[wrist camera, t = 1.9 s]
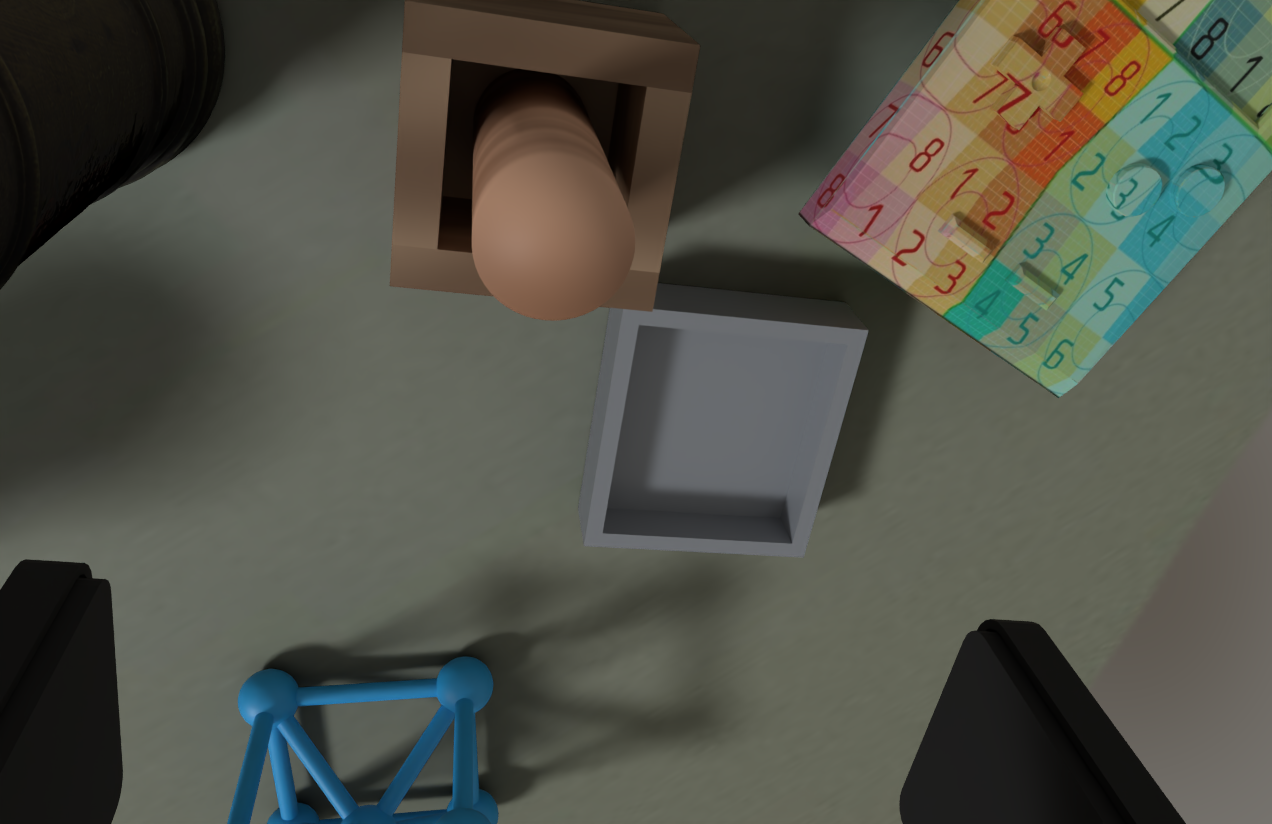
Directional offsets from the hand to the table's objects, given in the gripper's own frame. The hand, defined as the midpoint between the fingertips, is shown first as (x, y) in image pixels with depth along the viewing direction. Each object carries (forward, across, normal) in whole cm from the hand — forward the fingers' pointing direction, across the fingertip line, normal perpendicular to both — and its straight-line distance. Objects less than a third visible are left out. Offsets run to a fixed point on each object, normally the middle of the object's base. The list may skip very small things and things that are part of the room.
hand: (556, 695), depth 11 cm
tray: (+25, -8, +9) cm, 27 cm away
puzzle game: (+25, -19, -6) cm, 32 cm away
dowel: (+24, -1, -1) cm, 24 cm away
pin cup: (+24, -1, -1) cm, 25 cm away
